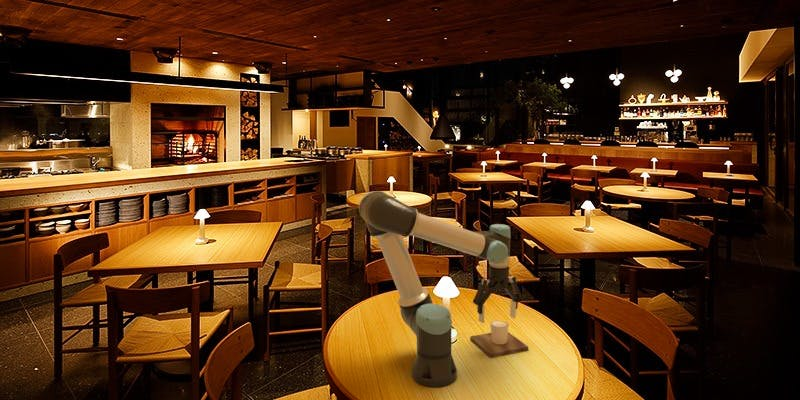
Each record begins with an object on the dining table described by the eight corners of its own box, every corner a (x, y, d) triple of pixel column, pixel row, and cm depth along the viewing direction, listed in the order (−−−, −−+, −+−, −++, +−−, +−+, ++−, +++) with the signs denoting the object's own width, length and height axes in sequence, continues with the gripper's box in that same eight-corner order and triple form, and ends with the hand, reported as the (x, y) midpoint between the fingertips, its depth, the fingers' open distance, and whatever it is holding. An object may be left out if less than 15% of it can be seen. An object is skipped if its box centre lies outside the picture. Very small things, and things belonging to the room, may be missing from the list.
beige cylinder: (508, 345, 176) (508, 328, 175) (490, 344, 177) (490, 327, 176) (508, 338, 183) (508, 320, 182) (490, 336, 184) (490, 319, 183)
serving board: (490, 357, 170) (490, 354, 170) (470, 340, 185) (470, 336, 185) (528, 350, 175) (528, 346, 175) (505, 333, 190) (505, 330, 190)
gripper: (474, 271, 168) (472, 327, 171) (533, 265, 176) (530, 319, 179) (464, 265, 175) (463, 319, 178) (521, 260, 183) (519, 312, 186)
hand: (497, 319), depth 178 cm, fingers open, 13 cm apart
